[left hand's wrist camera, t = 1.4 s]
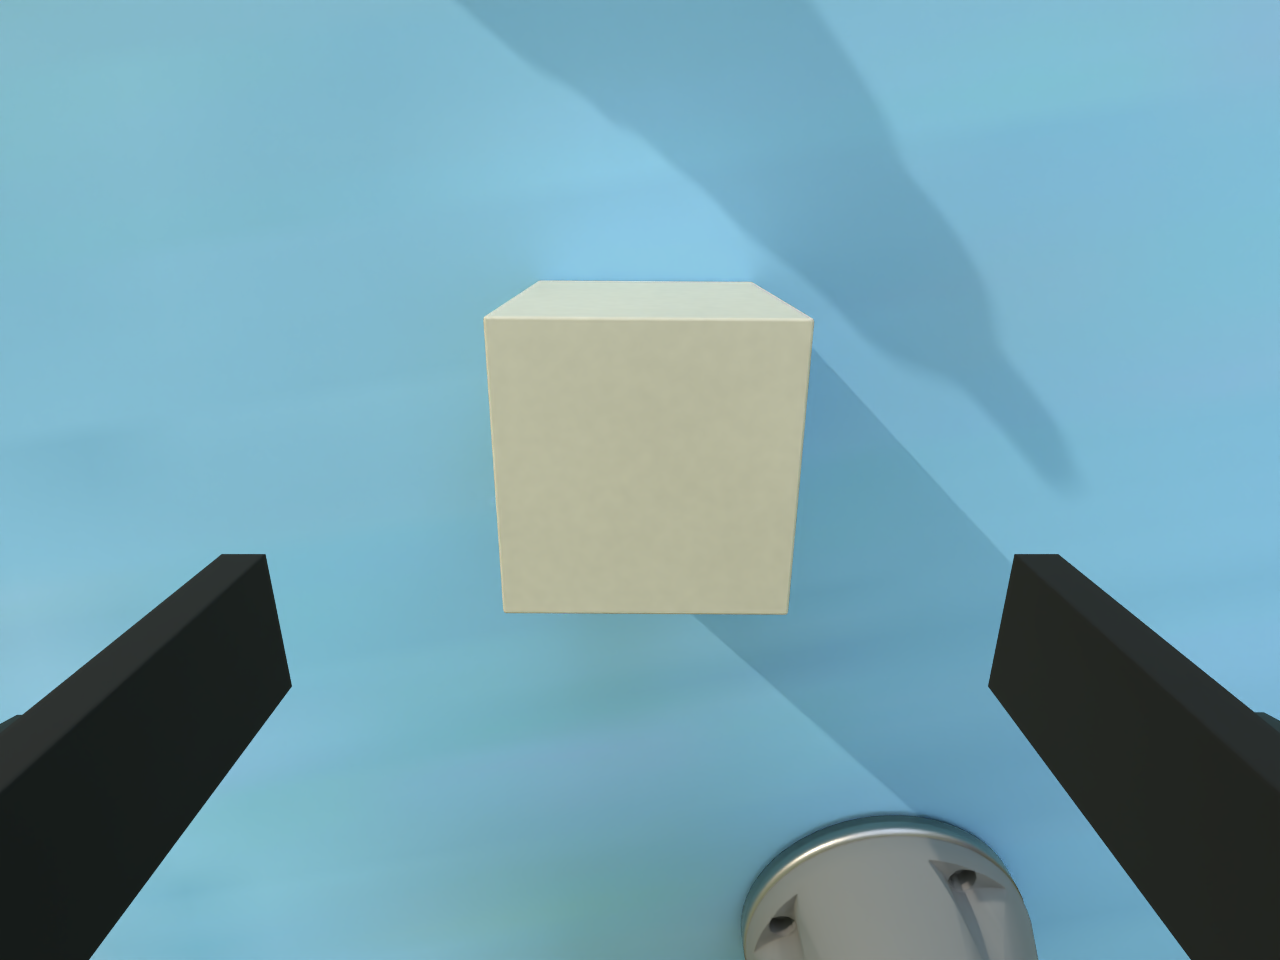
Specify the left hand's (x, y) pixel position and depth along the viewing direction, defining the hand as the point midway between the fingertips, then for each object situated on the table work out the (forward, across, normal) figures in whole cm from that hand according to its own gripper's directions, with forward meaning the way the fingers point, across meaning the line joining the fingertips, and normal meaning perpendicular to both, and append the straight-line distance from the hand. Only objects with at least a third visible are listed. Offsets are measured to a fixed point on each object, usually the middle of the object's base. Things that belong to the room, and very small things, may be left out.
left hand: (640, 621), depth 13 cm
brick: (+18, 0, 0) cm, 18 cm away
